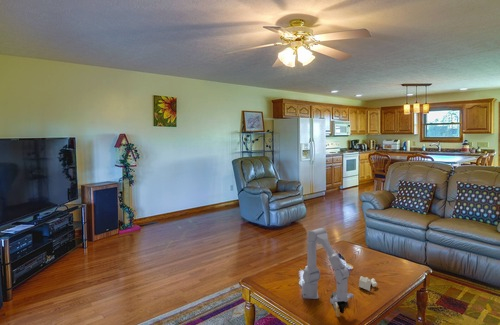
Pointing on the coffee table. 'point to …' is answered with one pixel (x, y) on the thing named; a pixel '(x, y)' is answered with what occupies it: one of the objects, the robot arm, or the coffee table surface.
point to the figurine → (366, 283)
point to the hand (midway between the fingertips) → (341, 312)
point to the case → (334, 295)
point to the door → (337, 309)
